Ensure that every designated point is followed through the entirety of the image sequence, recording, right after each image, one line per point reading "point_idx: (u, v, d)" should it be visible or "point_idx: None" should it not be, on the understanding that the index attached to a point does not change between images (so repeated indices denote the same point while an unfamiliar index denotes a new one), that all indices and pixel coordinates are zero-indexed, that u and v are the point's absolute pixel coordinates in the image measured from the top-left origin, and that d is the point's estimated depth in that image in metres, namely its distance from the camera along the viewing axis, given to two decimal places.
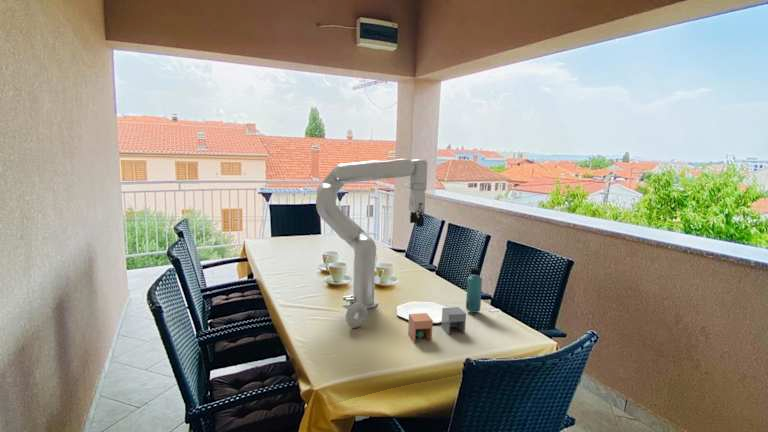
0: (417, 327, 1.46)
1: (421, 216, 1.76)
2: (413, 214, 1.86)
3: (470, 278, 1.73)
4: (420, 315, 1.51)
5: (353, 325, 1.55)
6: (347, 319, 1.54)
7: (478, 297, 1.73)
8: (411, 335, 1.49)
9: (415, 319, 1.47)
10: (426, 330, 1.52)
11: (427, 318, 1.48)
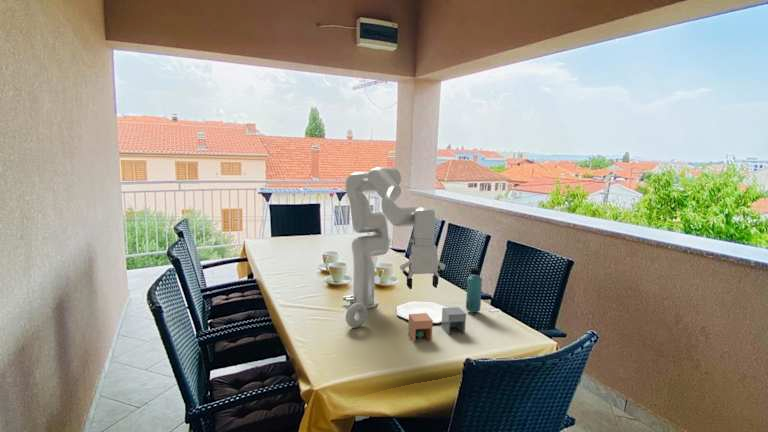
0: (417, 327, 1.46)
1: None
2: None
3: (470, 278, 1.73)
4: (420, 315, 1.51)
5: (353, 325, 1.55)
6: (347, 319, 1.54)
7: (478, 297, 1.73)
8: (411, 335, 1.49)
9: (415, 319, 1.47)
10: (426, 330, 1.52)
11: (427, 318, 1.48)
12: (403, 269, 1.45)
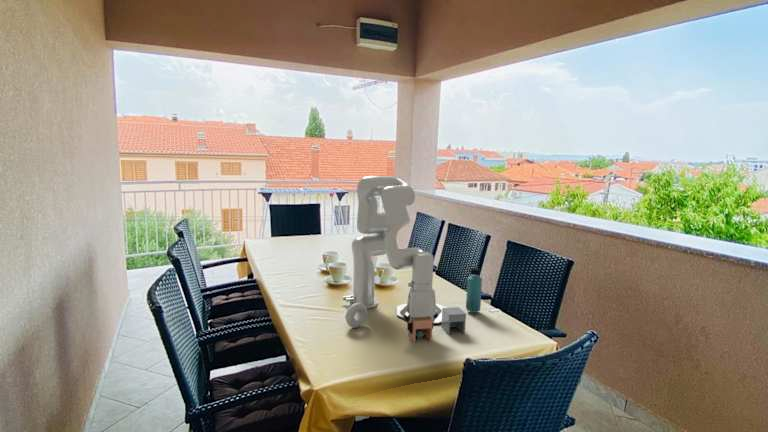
0: (417, 327, 1.46)
1: None
2: None
3: (470, 278, 1.73)
4: None
5: (353, 325, 1.55)
6: (347, 319, 1.54)
7: (478, 297, 1.73)
8: (411, 335, 1.49)
9: (415, 319, 1.47)
10: (426, 330, 1.52)
11: (427, 318, 1.48)
12: (403, 314, 1.47)
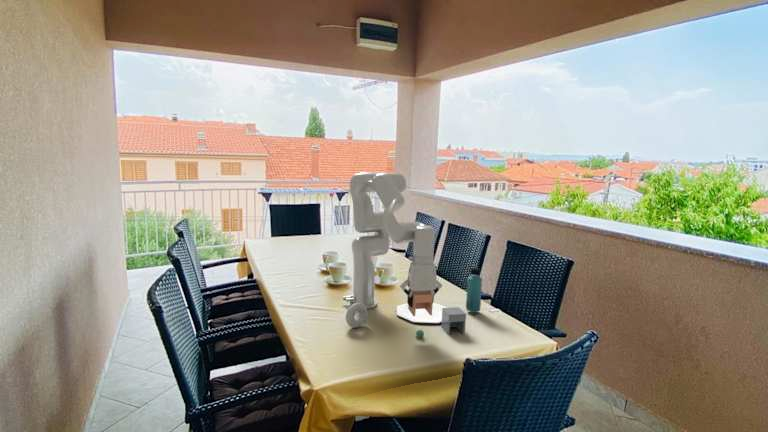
0: (417, 301, 1.45)
1: None
2: None
3: (470, 278, 1.73)
4: None
5: (353, 325, 1.55)
6: (347, 319, 1.54)
7: (478, 297, 1.73)
8: (411, 309, 1.48)
9: (415, 293, 1.46)
10: (426, 305, 1.51)
11: (427, 292, 1.47)
12: (403, 288, 1.46)
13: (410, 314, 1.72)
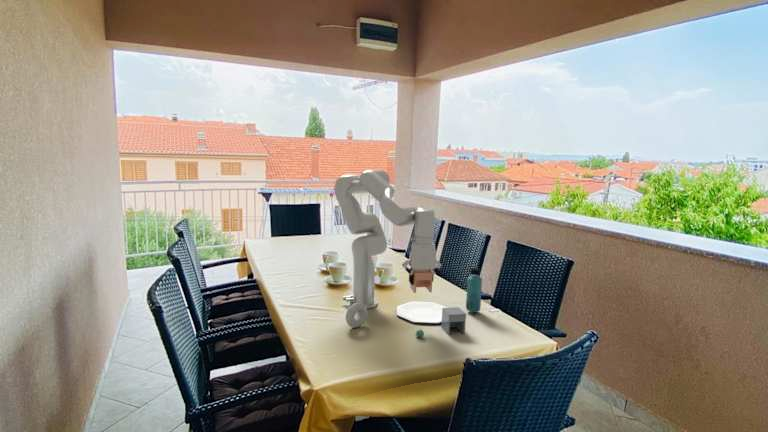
0: (418, 278, 1.56)
1: None
2: None
3: (470, 278, 1.73)
4: None
5: (353, 325, 1.55)
6: (347, 319, 1.54)
7: (478, 297, 1.73)
8: (412, 287, 1.59)
9: (416, 271, 1.57)
10: (427, 283, 1.61)
11: (428, 271, 1.58)
12: (405, 267, 1.57)
13: (410, 314, 1.72)
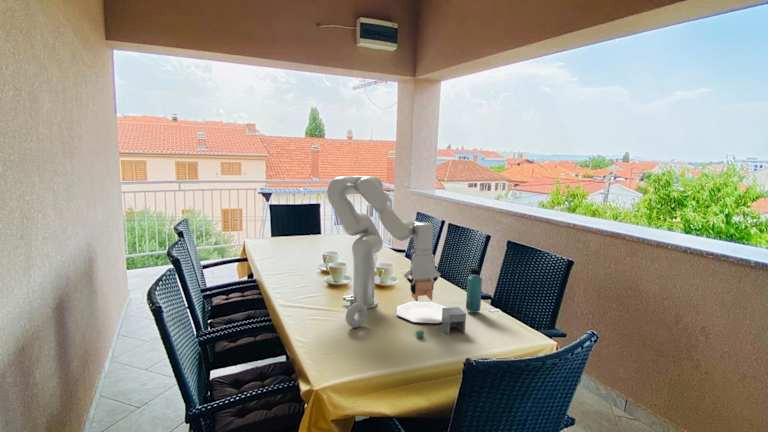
0: (419, 288, 1.66)
1: None
2: None
3: (470, 278, 1.73)
4: None
5: (353, 325, 1.55)
6: (347, 319, 1.54)
7: (478, 297, 1.73)
8: (414, 296, 1.69)
9: (417, 281, 1.68)
10: (427, 292, 1.72)
11: (428, 280, 1.69)
12: (407, 277, 1.67)
13: (410, 314, 1.72)
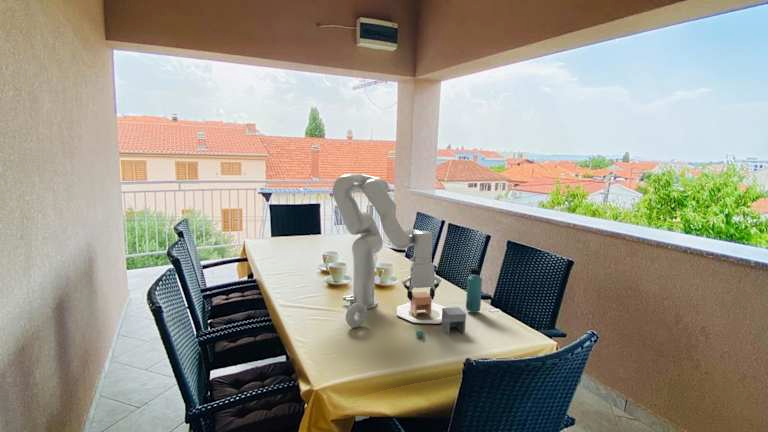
0: (418, 303, 1.67)
1: None
2: None
3: (470, 278, 1.73)
4: (421, 293, 1.73)
5: (353, 325, 1.55)
6: (347, 319, 1.54)
7: (478, 297, 1.73)
8: (413, 310, 1.70)
9: (416, 296, 1.69)
10: (426, 306, 1.73)
11: (427, 295, 1.70)
12: (404, 283, 1.68)
13: None
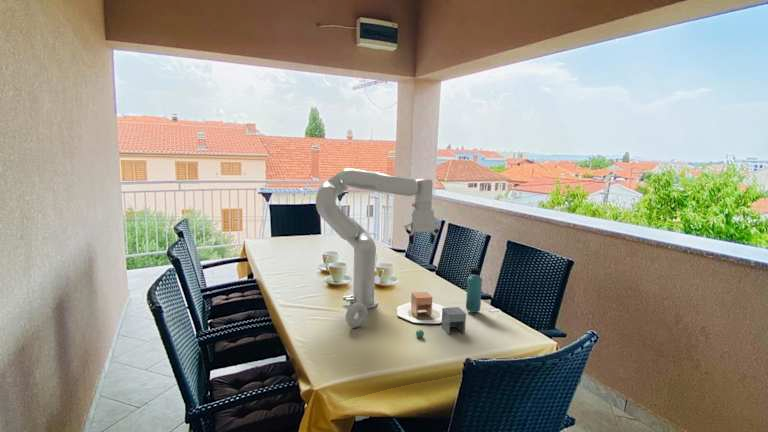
0: (419, 303, 1.67)
1: None
2: None
3: (470, 278, 1.73)
4: (421, 293, 1.73)
5: (353, 325, 1.55)
6: (347, 319, 1.54)
7: (478, 297, 1.73)
8: (413, 310, 1.71)
9: (417, 296, 1.69)
10: (426, 306, 1.73)
11: (427, 295, 1.70)
12: (406, 228, 1.79)
13: None
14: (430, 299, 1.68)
